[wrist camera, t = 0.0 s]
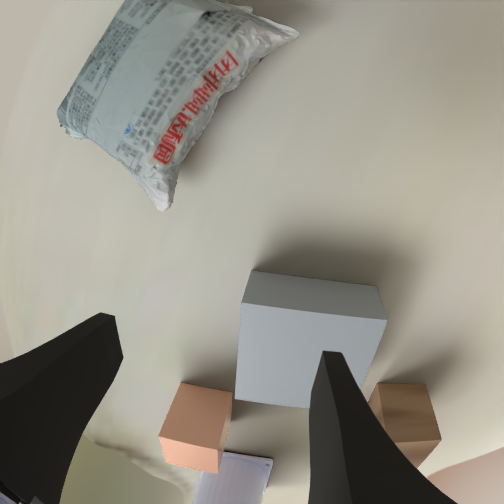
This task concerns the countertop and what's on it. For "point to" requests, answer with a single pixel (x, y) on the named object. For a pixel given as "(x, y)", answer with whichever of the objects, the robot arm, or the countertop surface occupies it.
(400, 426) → the walnut block
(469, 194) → the countertop surface
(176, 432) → the terracotta block
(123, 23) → the packaged food
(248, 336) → the slate base block
